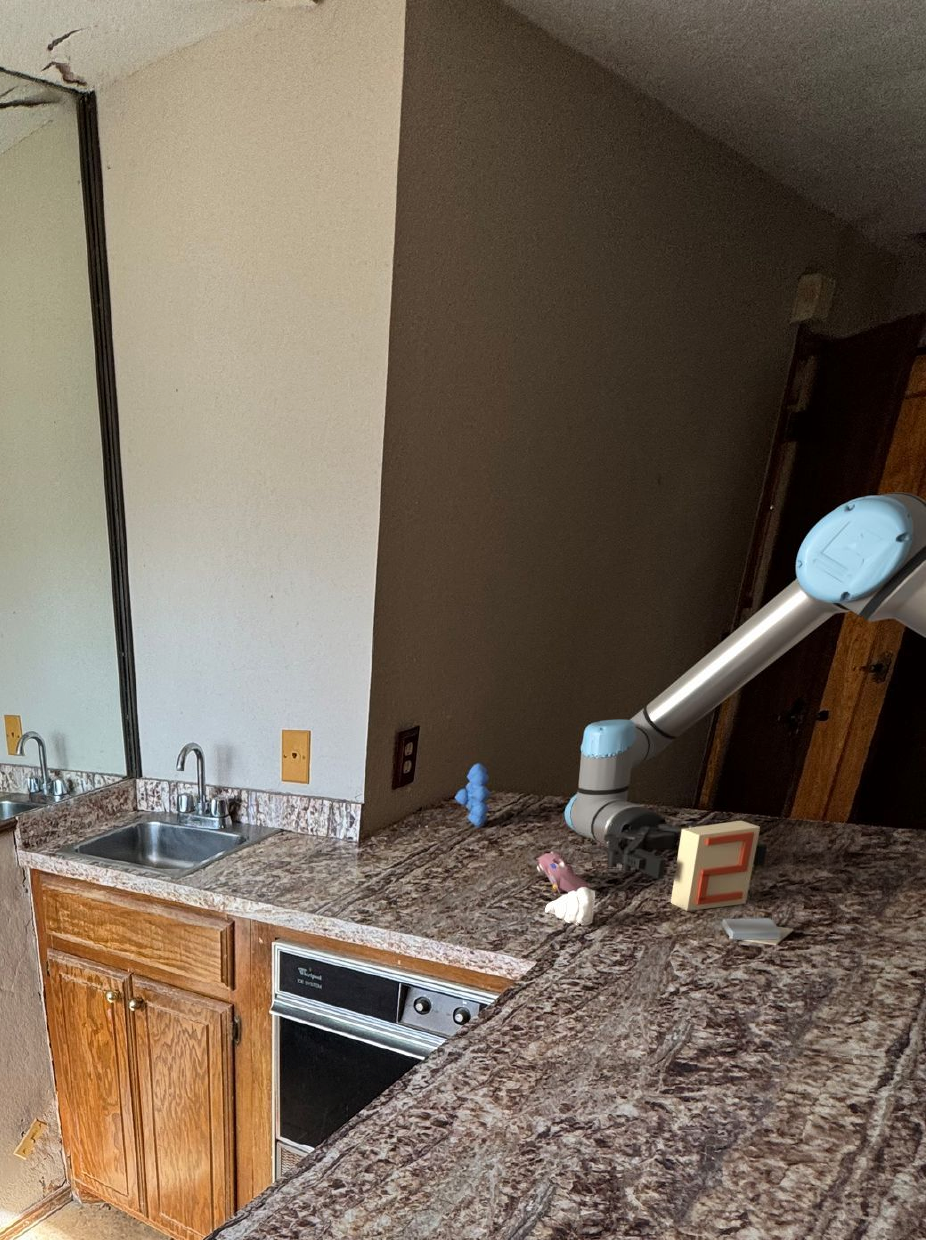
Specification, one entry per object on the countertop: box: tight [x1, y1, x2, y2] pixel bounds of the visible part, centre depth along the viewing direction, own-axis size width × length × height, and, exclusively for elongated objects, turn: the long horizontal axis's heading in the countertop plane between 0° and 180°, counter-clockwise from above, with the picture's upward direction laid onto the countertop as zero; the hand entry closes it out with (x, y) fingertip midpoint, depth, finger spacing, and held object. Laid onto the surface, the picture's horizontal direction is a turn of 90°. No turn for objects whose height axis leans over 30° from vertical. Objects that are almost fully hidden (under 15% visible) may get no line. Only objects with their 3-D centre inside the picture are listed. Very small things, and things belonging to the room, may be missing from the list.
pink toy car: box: [536, 851, 591, 894], centre depth 140 cm, size 10×5×7 cm, turn 168°
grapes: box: [454, 762, 491, 828], centre depth 178 cm, size 12×7×12 cm, turn 166°
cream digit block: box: [670, 820, 761, 912], centre depth 124 cm, size 8×4×11 cm, turn 89°
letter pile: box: [721, 917, 795, 946], centre depth 111 cm, size 12×10×3 cm
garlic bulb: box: [544, 887, 596, 927], centre depth 127 cm, size 6×6×5 cm
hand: (712, 862), depth 125 cm, fingers open, 13 cm apart
